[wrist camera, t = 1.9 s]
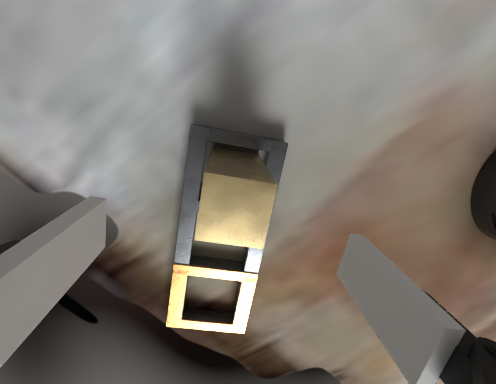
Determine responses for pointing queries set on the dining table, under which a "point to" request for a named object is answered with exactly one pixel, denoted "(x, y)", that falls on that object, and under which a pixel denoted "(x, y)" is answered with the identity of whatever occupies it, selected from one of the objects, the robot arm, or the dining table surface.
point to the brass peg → (235, 199)
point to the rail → (212, 266)
